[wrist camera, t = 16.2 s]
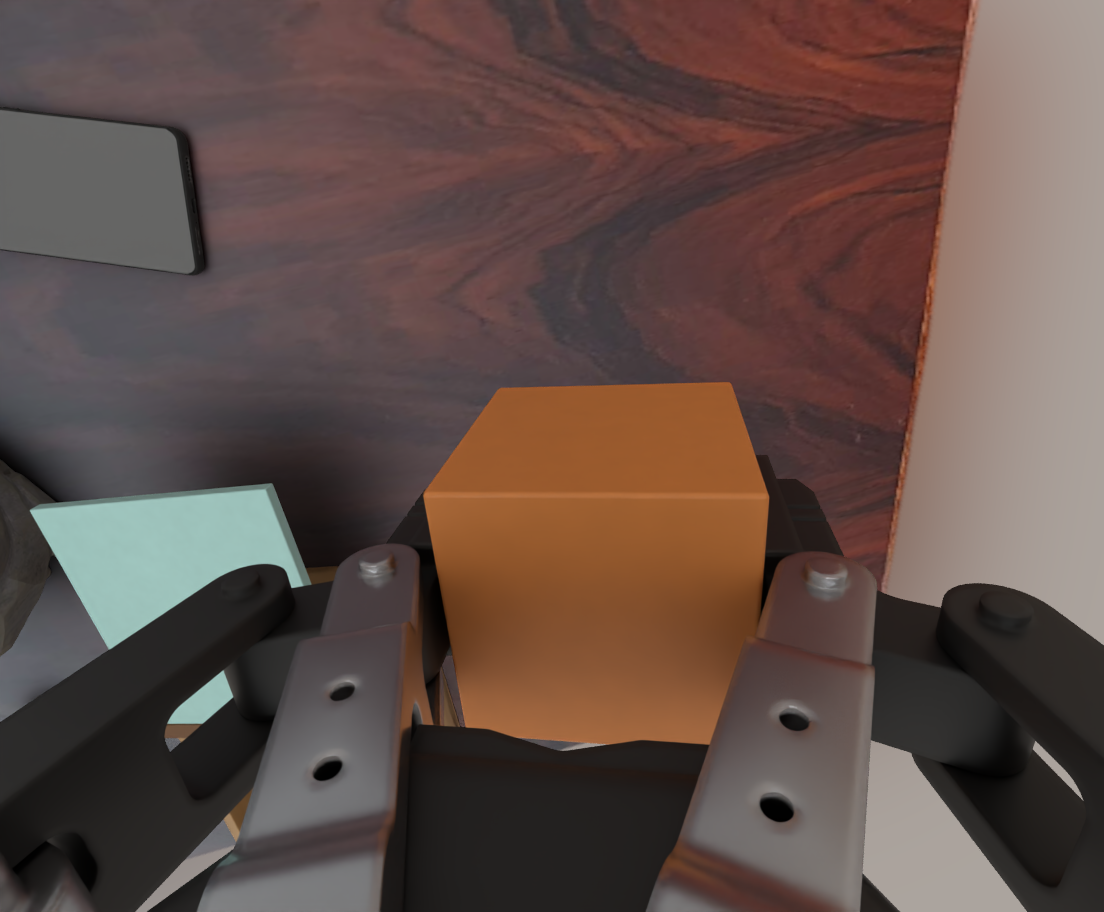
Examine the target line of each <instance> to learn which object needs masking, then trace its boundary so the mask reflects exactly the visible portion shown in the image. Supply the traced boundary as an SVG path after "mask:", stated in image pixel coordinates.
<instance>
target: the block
mask: <svg viewBox="0 0 1104 912" xmlns="http://www.w3.org/2000/svg"><path fill="white" fill-rule="evenodd" d="M423 497H424V503H425V508H426V514H427V519H428V525H429V530H430V536H431V541H432V546H433V552H434V557H435V563H436V568H437V574H438V579H439V585H440V590H441V596H442V601H443V606H444V612H445V617H446V623H447V628H448V634H449V639H450V645H451V650H452V656H453V661H454V666H455V672H456V677H457V683H458V688H459V694H460V699H461V705H462V710H463V716H464V721H465V726H466V727H468V728H482V729H490V730H493V731H496V732H500V733H503V734H506V735H509V736H512V737H515V738H529V739H543V740H556V741H570V742H583V743H597V744H616V743H623V742H630V741H636V740H652V741H666V742H680V743H694V744H708V745H710V742H711V739H712V736H713V733H714V730H715V727H716V724H717V721H718V718H719V714H720V711H721V708H722V705H723V702H724V699H725V696H726V693H727V690H728V687H729V684H730V681H731V678H732V675H733V672H734V669H735V666H736V663H737V660H738V657H739V654H740V651H741V648H742V645H743V642H744V640H745V638H746V636H747V635H751V636H755V634H756V631H757V627H758V624H759V621H760V615H761V602H762V588H763V575H764V562H765V549H766V535H767V522H768V509H769V495H768V492H767V489H766V486H765V483H764V480H763V477H762V474H761V471H760V468H759V465H758V462H757V459H756V456H755V453H754V450H753V447H752V444H751V441H750V438H749V435H748V432H747V429H746V426H745V423H744V420H743V417H742V414H741V411H740V408H739V405H738V402H737V399H736V396H735V393H734V390H733V387H732V385H731V383H729V382H717V383H678V384H638V385H599V386H560V387H521V388H500V389H498V390H497V392H496V393H495V394H494V396H493V397H492V399H491V400H490V401H489V403H488V404H487V406H486V407H485V408H484V410H483V411H482V412H481V414H480V415H479V417H478V418H477V419H476V421H475V422H474V424H473V425H472V426H471V428H470V429H469V431H468V432H467V433H466V435H465V436H464V437H463V439H462V440H461V442H460V443H459V444H458V446H457V447H456V449H455V450H454V451H453V453H452V454H451V456H450V457H449V458H448V460H447V461H446V463H445V464H444V465H443V467H442V468H441V469H440V471H439V472H438V474H437V475H436V476H435V478H434V479H433V481H432V482H431V483H430V485H429V486H428V488H427V489H426V490H425V492H424V495H423Z"/></svg>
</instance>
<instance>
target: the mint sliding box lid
mask: <svg viewBox="0 0 1104 912" xmlns="http://www.w3.org/2000/svg"><path fill="white" fill-rule="evenodd" d="M30 512H31V514H32V516H33V517H34V519H35V521H36V523H37V524H38V526H39V528H40V530H41V531H42V533H43V535H44V537H45V538H46V540H47V542H48V544H49V545H50V547H51V549H52V551H53V552H54V554H55V556H56V558H57V559H58V561H59V563H60V565H61V566H62V568H63V570H64V572H65V573H66V575H67V577H68V579H69V580H70V582H71V584H72V586H73V587H74V589H75V591H76V593H77V594H78V596H79V598H80V600H81V601H82V603H83V605H84V607H85V608H86V610H87V612H88V614H89V615H90V617H91V619H92V620H93V622H94V624H95V626H96V627H97V629H98V631H99V633H100V634H101V636H102V638H103V640H104V641H105V643H106V645H107V647H108V648H109V650H110V649H111V648H113V647H114V646H116V645H117V644H119V643H120V642H122V641H123V640H125V639H126V638H128V637H129V636H131V635H132V634H134V633H135V632H137V631H138V630H140V629H141V628H143V627H144V626H146V625H147V624H149V623H150V622H152V621H153V620H155V619H156V618H158V617H159V616H161V615H162V614H164V613H165V612H167V611H168V610H170V609H171V608H173V607H174V606H176V605H177V604H179V603H180V602H182V601H183V600H185V599H186V598H188V597H189V596H191V595H192V594H194V593H195V592H197V591H198V590H200V589H201V588H203V587H204V586H206V585H207V584H209V583H210V582H212V581H213V580H215V579H217V578H218V577H220V576H222V575H224V574H226V573H228V572H231V571H233V570H236V569H239V568H242V567H246V566H250V565H256V564H273V565H277V566H280V567H282V568H284V569H285V571H286V572H287V575H288V578H289V581H290V585H291V588H295V587H300V586H306V585H312V584H311V582H310V579H309V576H308V574H307V571H306V569H305V566H304V563H303V561H302V558H301V556H300V553H299V551H298V548H297V545H296V543H295V540H294V538H293V535H292V532H291V530H290V527H289V525H288V522H287V520H286V517H285V514H284V512H283V509H282V507H281V504H280V501H279V499H278V496H277V494H276V491H275V488H274V486H273V484H272V483H270V484H259V485H248V486H237V487H226V488H215V489H204V490H193V491H182V492H171V493H160V494H149V495H137V496H126V497H115V498H104V499H93V500H82V501H71V502H60V503H49V504H40V505H38V506H36V507H34V508H32V509H31V510H30ZM232 698H233V694H232V692H231V689H230V687H229V684H228V681H227V679H226V676H225V674H224V671H222V672H221V673H219V674H218V675H217V676H216V677H214V678H213V679H212V680H211V681H210V682H208V683H207V684H206V685H205V686H203V687H202V688H201V689H200V690H199V691H197V692H196V693H195V694H194V695H192V696H191V697H190V698H189V699H187V700H186V701H185V702H184V703H183V704H181V705H180V706H179V707H178V708H177V709H176V710H175V712H174V713H173V714H172V716H171V717H170V719H169V721H168V723H167V726H166V729H165V738H187V737H188V736H189V735H190V734H191V733H193V732H194V731H195V730H196V729H197V728H198V727H199V726H201V725H202V724H203V723H204V722H205V721H206V720H207V719H209V718H210V717H211V716H212V715H213V714H214V713H216V712H217V711H218V710H219V709H220V708H221V707H222V706H224V705H225V704H226V703H227V702H228V701H229V700H230V699H232Z"/></svg>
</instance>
